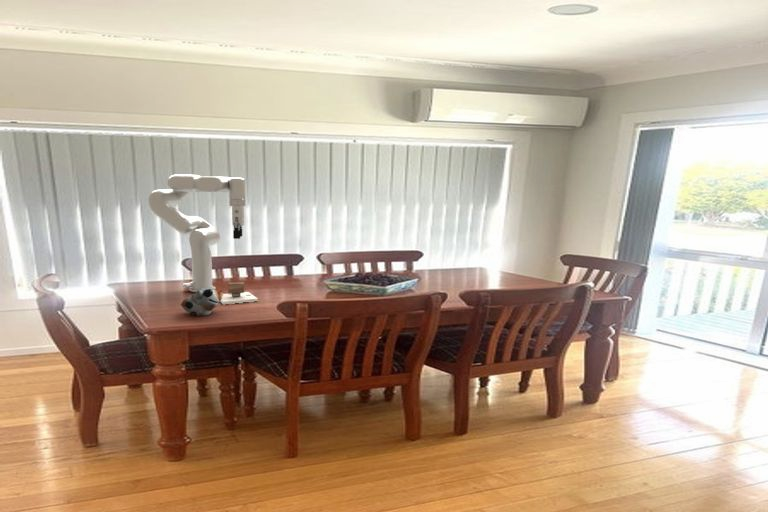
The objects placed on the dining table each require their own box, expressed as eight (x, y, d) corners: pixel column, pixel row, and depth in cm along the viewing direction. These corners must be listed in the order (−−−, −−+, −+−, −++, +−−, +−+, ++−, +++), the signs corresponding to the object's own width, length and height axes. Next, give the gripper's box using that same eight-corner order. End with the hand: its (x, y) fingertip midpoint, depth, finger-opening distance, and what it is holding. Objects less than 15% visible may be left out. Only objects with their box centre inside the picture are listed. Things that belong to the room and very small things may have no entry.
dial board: (223, 305, 232) (222, 301, 231) (215, 297, 245) (215, 294, 245) (257, 301, 240) (257, 298, 239) (248, 294, 253) (248, 291, 253)
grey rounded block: (203, 307, 227) (218, 280, 225) (217, 322, 220) (232, 295, 218) (174, 303, 214) (189, 275, 212) (188, 319, 208) (203, 291, 206)
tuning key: (244, 296, 241) (243, 283, 241) (228, 297, 239) (228, 284, 238) (242, 292, 251) (242, 279, 250) (227, 292, 248) (227, 280, 248)
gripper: (243, 203, 242) (244, 239, 245) (247, 202, 259) (247, 235, 262) (227, 203, 241) (227, 239, 244) (231, 201, 258) (232, 235, 260)
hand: (237, 237), depth 253 cm, fingers open, 9 cm apart
